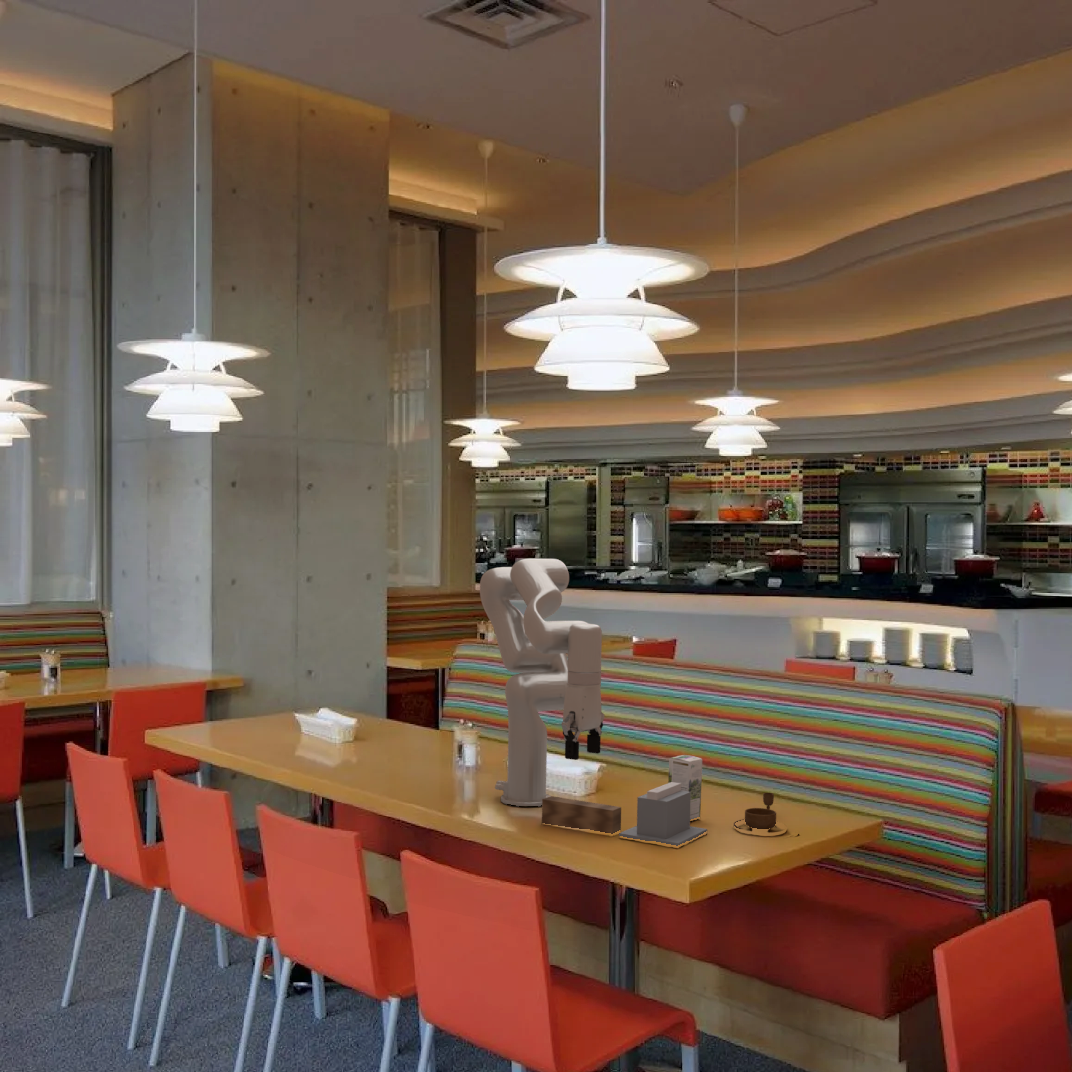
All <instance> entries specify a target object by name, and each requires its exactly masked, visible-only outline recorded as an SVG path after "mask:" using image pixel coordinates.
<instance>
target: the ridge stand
mask: <svg viewBox="0 0 1072 1072" xmlns="http://www.w3.org/2000/svg"><path fill="white" fill-rule="evenodd" d="M690 795H691V792H688V791H681V783H675V782H670V783H668V782H667V783H665V784H663V785H660V786H657V787H655V788H652V789H650V790H647V791H646V793H644V794H643V795H640V796H637V800H636V801H637V803H636V805H637V806H636V812H637V813H636V814H637V815H636V825H635V826H633V827H631V828H628V829H626V830H623V831H621V833H619V834H618V837H619V836H623V837H627V838H633V839H640V840H645V841H656V842H661V843H666V844H671V845H676V846H678V845H680V844H682V843H685V842H686V841H690V840H692V839H693V838H696V837H698V836H699V835H701V834H703V833H704V832H706V831H707V832H708V828H703V827H697V826H691V822H690Z"/></svg>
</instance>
